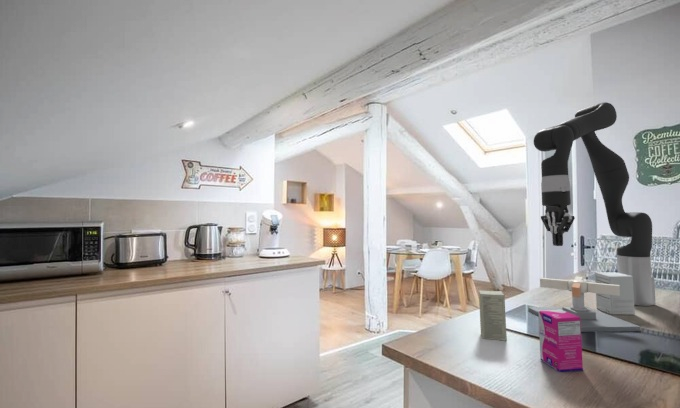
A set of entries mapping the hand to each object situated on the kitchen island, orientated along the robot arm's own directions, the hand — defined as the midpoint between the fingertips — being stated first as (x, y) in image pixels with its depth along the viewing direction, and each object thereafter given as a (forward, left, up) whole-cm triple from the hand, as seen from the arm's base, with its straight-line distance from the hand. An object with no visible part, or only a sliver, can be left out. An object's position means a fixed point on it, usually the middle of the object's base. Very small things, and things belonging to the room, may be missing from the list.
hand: (558, 245), depth 101 cm
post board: (-6, -1, -23) cm, 24 cm away
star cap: (-6, -1, -14) cm, 16 cm away
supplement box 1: (+20, +29, -24) cm, 43 cm away
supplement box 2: (-24, -9, -24) cm, 35 cm away
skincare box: (+27, +12, -24) cm, 38 cm away
